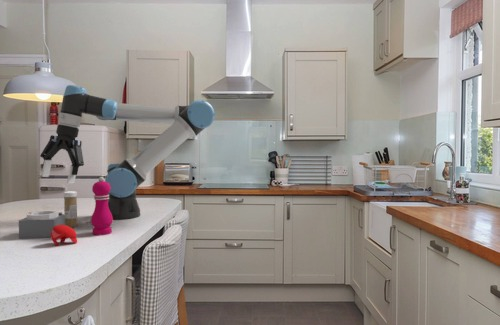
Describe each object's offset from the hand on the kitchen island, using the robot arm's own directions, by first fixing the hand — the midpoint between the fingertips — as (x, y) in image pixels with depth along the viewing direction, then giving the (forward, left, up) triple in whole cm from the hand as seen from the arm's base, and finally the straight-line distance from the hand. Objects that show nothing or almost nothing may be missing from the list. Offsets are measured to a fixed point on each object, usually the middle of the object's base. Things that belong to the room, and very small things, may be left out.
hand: (57, 179), depth 138 cm
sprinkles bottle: (-5, +1, -18) cm, 19 cm away
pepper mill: (-20, +14, -18) cm, 31 cm away
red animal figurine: (-12, +27, -18) cm, 35 cm away
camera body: (0, +13, -18) cm, 22 cm away
